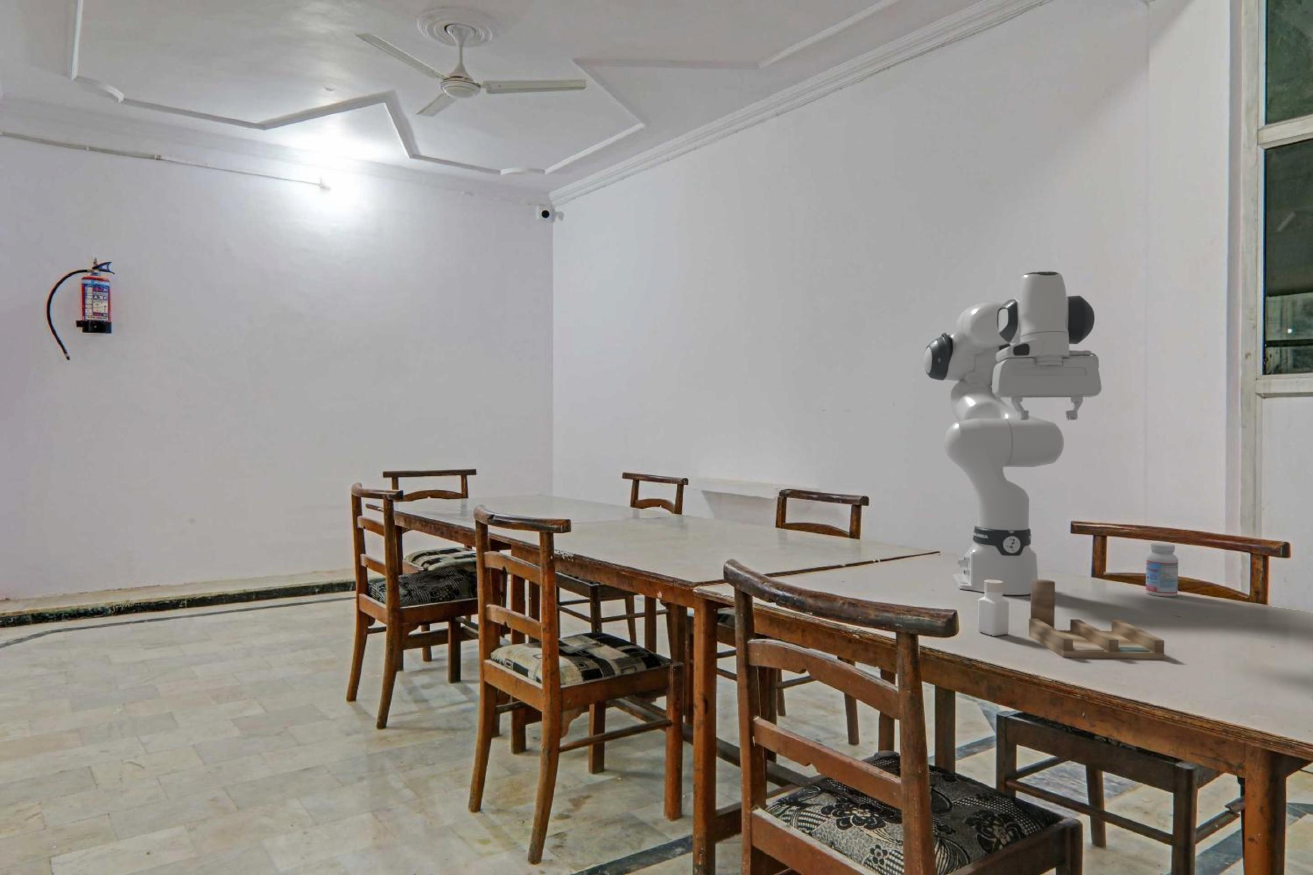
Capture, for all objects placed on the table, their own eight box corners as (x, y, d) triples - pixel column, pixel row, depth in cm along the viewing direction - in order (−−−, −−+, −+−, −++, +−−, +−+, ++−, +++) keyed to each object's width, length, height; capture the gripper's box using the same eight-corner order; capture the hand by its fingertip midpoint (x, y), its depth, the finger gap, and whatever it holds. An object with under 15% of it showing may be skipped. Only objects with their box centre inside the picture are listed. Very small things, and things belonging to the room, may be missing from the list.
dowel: (1026, 627, 157) (1027, 579, 156) (1048, 627, 156) (1049, 579, 156) (1035, 632, 153) (1036, 583, 152) (1058, 632, 152) (1058, 583, 152)
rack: (1028, 635, 151) (1029, 618, 151) (1119, 636, 150) (1120, 619, 150) (1063, 657, 137) (1063, 638, 137) (1163, 658, 136) (1164, 640, 136)
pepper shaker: (993, 637, 149) (994, 584, 149) (976, 631, 153) (976, 580, 153) (1009, 634, 151) (1010, 582, 151) (992, 629, 155) (993, 578, 154)
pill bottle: (1140, 591, 190) (1141, 541, 190) (1169, 592, 189) (1170, 542, 189) (1152, 596, 184) (1153, 545, 184) (1182, 597, 183) (1183, 546, 183)
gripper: (1090, 353, 170) (1093, 421, 168) (987, 354, 170) (990, 421, 169) (1105, 347, 163) (1109, 417, 162) (999, 348, 164) (1002, 418, 163)
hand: (1047, 419), depth 166 cm, fingers open, 8 cm apart
